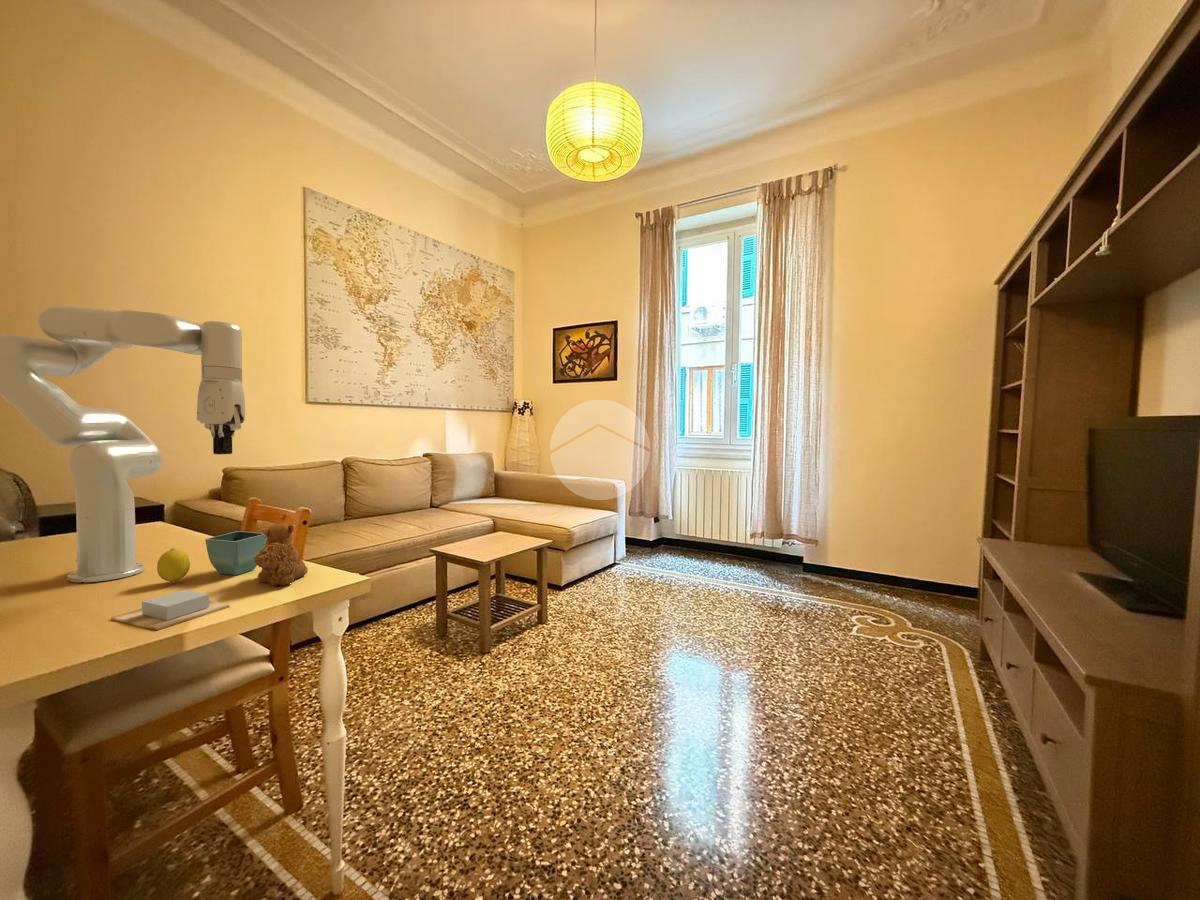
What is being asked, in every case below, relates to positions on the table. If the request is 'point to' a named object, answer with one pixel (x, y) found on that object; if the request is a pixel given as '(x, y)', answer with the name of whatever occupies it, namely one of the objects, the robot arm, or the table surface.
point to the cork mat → (159, 624)
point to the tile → (175, 604)
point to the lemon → (173, 565)
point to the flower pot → (235, 551)
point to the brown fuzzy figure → (279, 557)
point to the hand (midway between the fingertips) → (222, 453)
